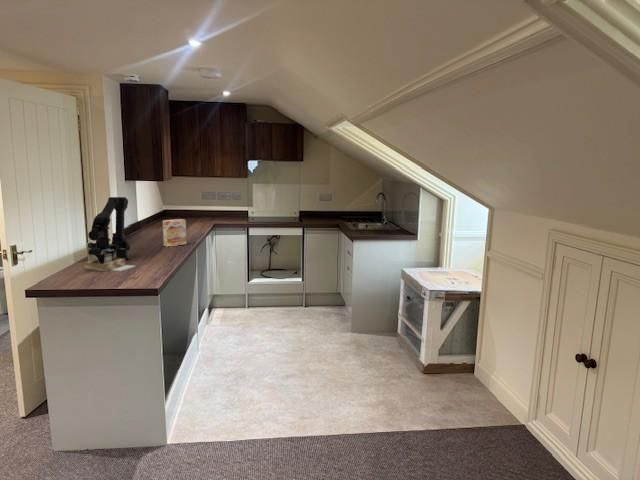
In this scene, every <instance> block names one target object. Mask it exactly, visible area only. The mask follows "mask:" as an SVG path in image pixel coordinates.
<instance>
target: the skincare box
mask: <svg viewBox="0 0 640 480" xmlns="http://www.w3.org/2000/svg"><path fill="white" fill-rule="evenodd" d="M90 242H92V243H96V241H89V242H87V243H85V244H86V252H87V260H88V261H87V262H89V261H92V260H96V259H98V258H97V257H96V256H95V255H88V251H89V250H90V249H91V248H88V243H90Z"/></svg>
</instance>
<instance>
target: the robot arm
mask: <svg viewBox="0 0 640 480" xmlns="http://www.w3.org/2000/svg"><path fill="white" fill-rule="evenodd" d="M128 204H129V200H128V198H127V197H125V196H115V197H114V196H111V197H108V199H107V202H106V204H105V206H104V208H102V211H101V212H100V213H97V214H96V215H95V217H94V218H93V221H92V225H91V229H90V231H89V232H88V234H87V235H88V238H89V240H90V241H89V242H90V243H89V242H87V243H88V248H91V249H90V250H89V251H88V254H87V256H88V255H95V256H96V257H97V258H98V260H99V262H100V264H103V262H104V254H103V253H111V255H112V258H114V255H116V257H115V258H123V259H125V261H127V260H130V259H131V258H130V257H129V255H128V251H130V250H131V245H130V244H129V242H128V237H126V235H125V212H126V210H127V208H128ZM114 210H115V234H114V236H112V237H111V238H110V237H109V235H110V234H109V230H110V227H109V225H110V223H111V215H112V213H113V211H114ZM110 241H111V244H110ZM92 242H96V243H92Z"/></svg>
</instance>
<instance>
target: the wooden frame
mask: <svg viewBox="0 0 640 480" xmlns="http://www.w3.org/2000/svg"><path fill="white" fill-rule="evenodd" d="M125 265H127V264H126V260H125V259H123V258H116V257H112V261H111V262H108V263H104V264H100V263H99V261H98V259H96V260H92V261H89V262H88V261H85V262H84V270H87V271H96V272H97V271H98V272H99V271H100V272H108V271H112V269H115V268H119V267H122V266H125Z"/></svg>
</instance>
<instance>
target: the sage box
mask: <svg viewBox="0 0 640 480" xmlns="http://www.w3.org/2000/svg"><path fill="white" fill-rule="evenodd" d="M103 254H104V262H103V264H104V263H108V262H111V261H112V258H113V257H112V255H111V253H106V252H103ZM98 261H99V260H98ZM99 263H100V262H99Z"/></svg>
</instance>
